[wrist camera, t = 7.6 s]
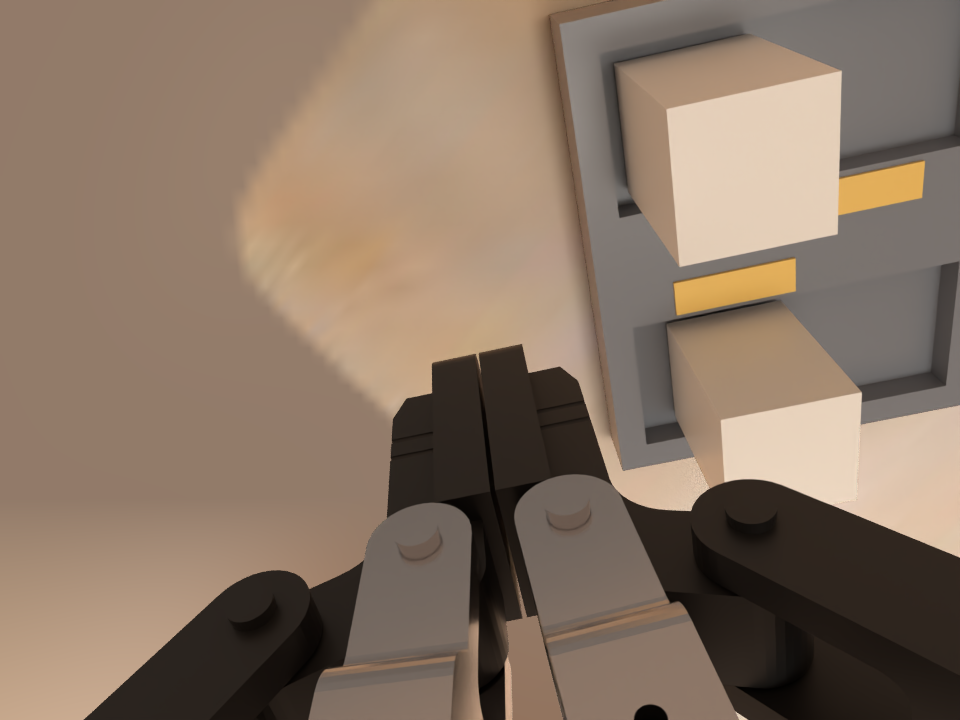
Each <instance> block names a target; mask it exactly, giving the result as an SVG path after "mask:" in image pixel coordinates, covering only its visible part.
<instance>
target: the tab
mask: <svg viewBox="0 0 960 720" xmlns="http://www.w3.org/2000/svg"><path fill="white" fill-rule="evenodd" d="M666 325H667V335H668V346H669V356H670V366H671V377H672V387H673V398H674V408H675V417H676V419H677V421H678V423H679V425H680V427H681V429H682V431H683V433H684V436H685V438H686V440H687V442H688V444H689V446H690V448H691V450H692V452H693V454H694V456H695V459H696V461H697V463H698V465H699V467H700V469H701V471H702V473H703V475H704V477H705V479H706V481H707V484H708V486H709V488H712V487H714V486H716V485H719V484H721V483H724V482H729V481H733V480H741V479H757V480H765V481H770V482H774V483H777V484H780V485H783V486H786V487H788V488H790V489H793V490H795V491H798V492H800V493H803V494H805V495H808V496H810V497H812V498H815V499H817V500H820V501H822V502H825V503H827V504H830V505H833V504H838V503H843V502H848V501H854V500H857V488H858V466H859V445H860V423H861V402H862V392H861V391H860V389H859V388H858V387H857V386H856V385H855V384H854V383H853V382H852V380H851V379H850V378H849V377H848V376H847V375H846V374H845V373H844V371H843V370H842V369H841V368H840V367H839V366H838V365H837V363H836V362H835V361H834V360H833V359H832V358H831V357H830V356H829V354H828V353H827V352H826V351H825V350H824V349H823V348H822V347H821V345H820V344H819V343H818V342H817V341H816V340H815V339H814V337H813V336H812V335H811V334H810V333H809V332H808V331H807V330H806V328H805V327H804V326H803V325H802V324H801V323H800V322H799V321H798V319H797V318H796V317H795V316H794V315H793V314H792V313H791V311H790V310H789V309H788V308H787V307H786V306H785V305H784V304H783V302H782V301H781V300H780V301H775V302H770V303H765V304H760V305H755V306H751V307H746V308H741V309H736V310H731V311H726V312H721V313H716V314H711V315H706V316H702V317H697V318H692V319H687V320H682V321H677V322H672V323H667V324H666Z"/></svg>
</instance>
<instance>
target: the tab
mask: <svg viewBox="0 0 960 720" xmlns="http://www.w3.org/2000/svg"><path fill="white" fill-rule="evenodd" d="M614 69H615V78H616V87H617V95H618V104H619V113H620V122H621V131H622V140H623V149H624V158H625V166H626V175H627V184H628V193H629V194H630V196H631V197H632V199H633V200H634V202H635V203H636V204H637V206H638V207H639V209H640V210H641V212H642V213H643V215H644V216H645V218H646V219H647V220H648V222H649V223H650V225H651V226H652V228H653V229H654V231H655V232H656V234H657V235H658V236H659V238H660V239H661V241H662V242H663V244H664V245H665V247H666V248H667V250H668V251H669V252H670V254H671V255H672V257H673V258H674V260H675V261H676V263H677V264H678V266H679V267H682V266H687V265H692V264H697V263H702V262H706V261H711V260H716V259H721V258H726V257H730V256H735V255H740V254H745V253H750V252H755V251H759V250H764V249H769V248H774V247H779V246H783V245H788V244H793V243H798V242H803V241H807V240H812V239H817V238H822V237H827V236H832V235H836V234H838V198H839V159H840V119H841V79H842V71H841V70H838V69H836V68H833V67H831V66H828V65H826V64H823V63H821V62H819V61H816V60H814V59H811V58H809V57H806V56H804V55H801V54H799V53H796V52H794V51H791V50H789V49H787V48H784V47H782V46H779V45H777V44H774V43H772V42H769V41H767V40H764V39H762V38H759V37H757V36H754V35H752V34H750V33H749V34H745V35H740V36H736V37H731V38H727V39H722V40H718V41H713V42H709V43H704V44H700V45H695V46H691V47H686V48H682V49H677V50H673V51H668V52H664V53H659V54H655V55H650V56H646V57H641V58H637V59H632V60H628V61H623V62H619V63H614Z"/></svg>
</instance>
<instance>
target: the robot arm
mask: <svg viewBox="0 0 960 720" xmlns="http://www.w3.org/2000/svg"><path fill="white" fill-rule="evenodd" d="M479 359H480V368H481V372H480V368H479V364H478V360H477V357H476V354H473V355H468V356H463V357H458V358H453V359H449V360H444V361H439V362H434V363H432V393H431V394H427V395H422V396H417V397H412V398H407V399H406V400H405V402H404V403H403V405H402V406H401V408H400V409H399V411H398V412H397V414H396V415H395V417H394V419H393V427H392V445H391V461H390V476H389V494H388V510H387V519H386V520H384V521H383V522H382V523H381V524H380V525H379V526H378V527H377V528H376V529H375V531H374V532H373V533H372V535H371V537H370V539H369V541H368V544H367V547H366V553H365V558H364V561H363V562H361V563H360V564H359V565H357V566H356V567H354V568H353V569H351V570H350V571H347V572H345V573H344V574H342V575H340V576H338V577H335V578H333V579H331V580H329V581H327V582H324V583H322V584H320V585H318V586H315V587H313V588H311V589H309V588H308V586H307V584H306V582H305V581H304V580H303V579H302V578H301V577H300V576H298V575H296V574H294V573H291V572H288V571H280V570H277V571H266V572H261V573H257V574H254V575H251V576H249V577H246V578H244V579H242V580H241V581H238V582H236V583H235V584H233V585H232V586H230V587H229V588H227V589H226V590H225V591H224V592H222V593H221V594H220V595H219V596H218V597H216V598H215V599H214V600H213V601H212V602H211V603H210V604H209V605H208V606H207V607H206V608H205V609H204V610H202V611H201V612H200V613H199V614H198V615H197V616H196V617H195V618H194V619H193V620H192V621H190V622H189V623H188V624H187V625H186V626H185V627H184V628H183V629H182V630H181V631H180V632H179V633H177V634H176V635H175V636H174V637H173V638H172V639H171V640H170V641H169V642H168V643H167V644H166V645H165V646H163V647H162V648H161V649H160V650H159V651H158V652H157V653H156V654H155V655H154V656H152V657H151V658H150V659H149V660H148V661H147V662H146V663H145V664H144V665H143V666H142V667H141V668H139V669H138V670H137V671H136V672H135V673H134V674H133V675H132V676H131V677H130V678H129V679H128V680H126V681H125V682H124V683H123V684H122V685H121V686H120V687H119V688H118V689H117V690H116V691H115V692H113V693H112V694H111V695H110V696H109V697H108V698H107V699H106V700H105V701H104V702H103V703H101V704H100V705H99V706H98V707H97V708H96V709H95V710H94V711H93V712H92V713H91V714H90V715H88V716H87V717H86V718H85V719H84V720H512V685H511V684H512V683H511V667H510V663H509V660H508V656H507V655H508V635H507V626H506V621H511V620H516V619H522V611H521V604H520V596H519V590H518V582H519V587H520V591H521V595H522V599H523V602H524V606H525V610H526V614H527V617H531V616H536V615H537V616H538V620H539V624H540V628H541V632H542V636H543V641H544V645H545V649H546V653H547V658H548V662H549V666H550V670H551V674H552V678H553V682H554V685H555V689H556V693H557V697H558V701H559V705H560V708H561V713H562V717H563V720H739V719H738V717H737V714H736V712H737V713H739V714H740V715H742V716H743V717H745V718H746V719H748V720H960V558H959V557H957V556H954V555H952V554H949V553H947V552H945V551H942V550H940V549H937V548H935V547H932V546H930V545H927V544H925V543H923V542H920V541H918V540H915V539H913V538H910V537H908V536H905V535H903V534H900V533H898V532H896V531H893V530H891V529H888V528H886V527H883V526H881V525H878V524H876V523H874V522H871V521H869V520H866V519H864V518H861V517H859V516H856V515H854V514H852V513H849V512H847V511H844V510H842V509H839V508H837V507H834V506H832V505H830V504H827V503H825V502H822V501H820V500H817V499H815V498H812V497H810V496H808V495H805V494H803V493H800V492H798V491H795V490H793V489H790V488H788V487H786V486H783V485H780V484H777V483H774V482H770V481H765V480H757V479H741V480H733V481H729V482H724V483H721V484H719V485H716V486H714V487H712V488H710V489H708V490H707V491H706V492H704V493H703V494H702V495H701V496H700V497H699V498H698V499H697V500H696V502H695V503H694V505H693V507H692V510H691V511H672V510H659V509H653V508H648V507H645V506H641V505H638V504H636V503H634V502H632V501H630V500H628V499H627V498H625V497H623V496H622V495H621V494H620V493H619V492H618V491H617V490H616V489H615V488H614V486H613V485H612V483H611V481H610V479H609V476H608V473H607V470H606V466H605V463H604V460H603V457H602V454H601V451H600V448H599V445H598V442H597V438H596V435H595V432H594V429H593V426H592V423H591V420H590V417H589V414H588V411H587V407H586V404H585V402H584V398H583V395H582V392H581V389H580V386H579V383H578V381H577V380H576V379H575V378H574V377H572V376H571V375H570V374H568V373H567V372H566V371H565V370H563V369H562V368H561V367H556V368H551V369H546V370H542V371H537V372H532V373H528V370H527V365H526V361H525V356H524V352H523V347H522V344H520V345H515V346H510V347H505V348H501V349H496V350H491V351H486V352H481V353H479ZM517 579H518V582H517ZM735 711H736V712H735Z"/></svg>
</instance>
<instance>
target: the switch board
mask: <svg viewBox="0 0 960 720" xmlns="http://www.w3.org/2000/svg"><path fill="white" fill-rule="evenodd" d="M549 17H550V24H551V31H552V37H553V44H554V51H555V58H556V65H557V71H558V78H559V85H560V92H561V98H562V105H563V112H564V119H565V126H566V132H567V139H568V146H569V153H570V159H571V166H572V173H573V180H574V187H575V193H576V200H577V207H578V214H579V220H580V227H581V234H582V241H583V248H584V254H585V261H586V268H587V275H588V282H589V288H590V295H591V302H592V309H593V315H594V322H595V329H596V336H597V343H598V349H599V356H600V363H601V370H602V376H603V383H604V390H605V397H606V404H607V410H608V417H609V424H610V431H611V437H612V440H613V443H614V446H615V449H616V452H617V455H618V458H619V461H620V464H621V467H622V469H623V471H625V470H630V469H635V468H640V467H645V466H650V465H655V464H660V463H666V462H671V461H676V460H681V459H686V458H691V457H695V456H694V454H693V452H692V450H691V448H690V446H689V444H688V442H687V440H686V438H685V436H684V433H683V431H682V429H681V427H680V425H679V423H678V421H677V419H676V417H675V408H674V398H673V387H672V377H671V366H670V356H669V346H668V335H667V325H666V324H667V323H672V322H677V321H682V320H687V319H692V318H697V317H702V316H706V315H711V314H716V313H721V312H726V311H731V310H736V309H741V308H746V307H751V306H755V305H760V304H765V303H770V302H775V301H780V300H781V301H782V302H783V304H784V305H785V306H786V307H787V308H788V309H789V310H790V311H791V313H792V314H793V315H794V316H795V317H796V318H797V319H798V321H799V322H800V323H801V324H802V325H803V326H804V327H805V328H806V330H807V331H808V332H809V333H810V334H811V335H812V336H813V337H814V339H815V340H816V341H817V342H818V343H819V344H820V345H821V347H822V348H823V349H824V350H825V351H826V352H827V353H828V354H829V356H830V357H831V358H832V359H833V360H834V361H835V362H836V363H837V365H838V366H839V367H840V368H841V369H842V370H843V371H844V373H845V374H846V375H847V376H848V377H849V378H850V379H851V380H852V382H853V383H854V384H855V385H856V386H857V387H858V388H859V389H860V391H861V392H862V402H861V423H860V425H861V424H866V423H871V422H876V421H881V420H886V419H891V418H896V417H902V416H907V415H912V414H917V413H922V412H927V411H932V410H937V409H943V408H948V407H953V406H958V405H960V0H612V1H608V2H603V3H599V4H594V5H590V6H585V7H581V8H577V9H572V10H568V11H563V12H559V13H555V14H550V15H549ZM749 33H750V34H752V35H754V36H757V37H759V38H762V39H764V40H767V41H769V42H772V43H774V44H777V45H779V46H782V47H784V48H787V49H789V50H791V51H794V52H796V53H799V54H801V55H804V56H806V57H809V58H811V59H814V60H816V61H819V62H821V63H823V64H826V65H828V66H831V67H833V68H836V69H838V70H841V71H842V79H841V119H840V159H839V198H838V234H836V235H832V236H827V237H822V238H817V239H812V240H807V241H803V242H798V243H793V244H788V245H783V246H779V247H774V248H769V249H764V250H759V251H755V252H750V253H745V254H740V255H735V256H730V257H726V258H721V259H716V260H711V261H706V262H702V263H697V264H692V265H687V266H682V267H679V266H678V264H677V263H676V261H675V260H674V258H673V257H672V255H671V254H670V252H669V251H668V250H667V248H666V247H665V245H664V244H663V242H662V241H661V239H660V238H659V236H658V235H657V234H656V232H655V231H654V229H653V228H652V226H651V225H650V223H649V222H648V220H647V219H646V218H645V216H644V215H643V213H642V212H641V210H640V209H639V207H638V206H637V204H636V203H635V202H634V200H633V199H632V197H631V196H630V194H629V193H628V184H627V175H626V166H625V158H624V149H623V140H622V131H621V122H620V113H619V104H618V95H617V87H616V78H615V69H614V63H619V62H623V61H628V60H632V59H637V58H641V57H646V56H650V55H655V54H659V53H664V52H668V51H673V50H677V49H682V48H686V47H691V46H695V45H700V44H704V43H709V42H713V41H718V40H722V39H727V38H731V37H736V36H740V35H745V34H749Z"/></svg>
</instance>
